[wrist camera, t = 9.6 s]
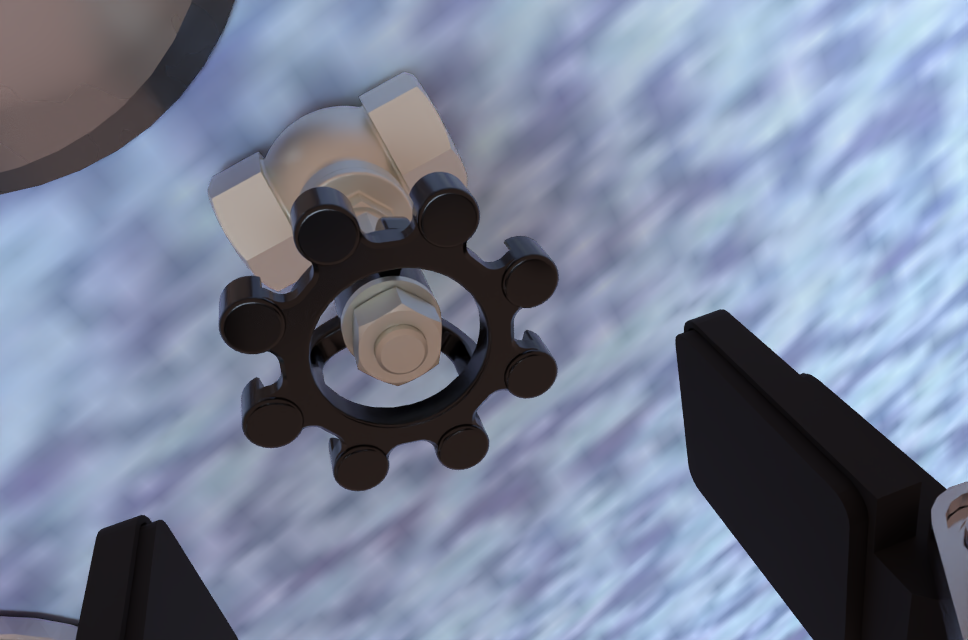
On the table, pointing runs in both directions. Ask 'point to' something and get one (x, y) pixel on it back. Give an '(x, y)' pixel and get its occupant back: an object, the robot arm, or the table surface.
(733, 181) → the table surface
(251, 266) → the valve
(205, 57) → the plinth
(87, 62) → the handwheel
